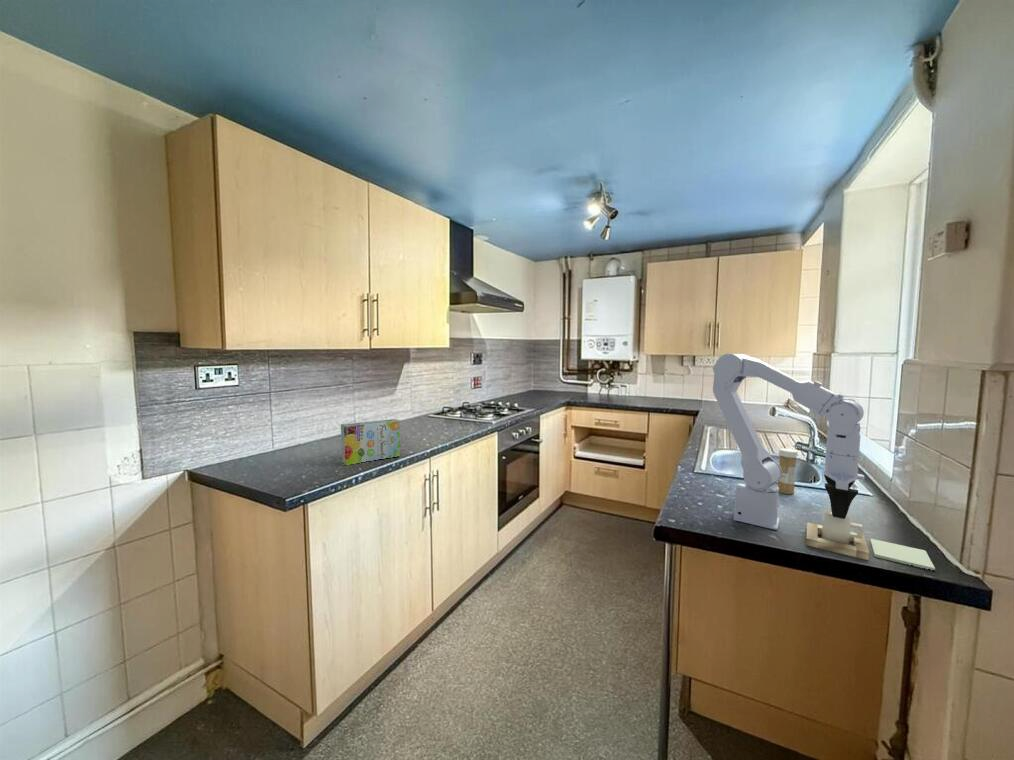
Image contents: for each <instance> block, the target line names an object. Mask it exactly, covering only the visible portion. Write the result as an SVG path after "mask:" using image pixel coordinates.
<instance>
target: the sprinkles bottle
mask: <svg viewBox="0 0 1014 760" xmlns="http://www.w3.org/2000/svg"><path fill="white" fill-rule="evenodd" d="M778 456H779V462H778V464H779V465H780V467H781V469H782V477H781V478H780V480H778V481H777V485H778V487H779V493H782V494H784V495H793V494H795V482H796V474H797V473H796V471H797V458H798V450H796V449H792V448H783V447H782V448H780V449H779V452H778Z"/></svg>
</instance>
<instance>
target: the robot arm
mask: <svg viewBox="0 0 1014 760" xmlns="http://www.w3.org/2000/svg"><path fill="white" fill-rule="evenodd" d="M712 371H713V383H712V391H713V392H712V393H713V395H714V398H715V399H716V401H717V403H718V405H719V407H720V410H721V412H722V414H723V417H724V418H725V421H726V423H727V425H728V428H729V430H730V431H731V434H732V436H733V439H734V440H735V442H736V444H737V447H738V450H739V451H740V453H741V455H740V456H741V457H740V458H741V459H740V464H741V467H742V468H743V469H742V470H743V472H742V477H743V479H744V483H737V484H736V488H735V494H734V506H733V521H736V522H741V523H744V524H750V525H754V526H756V527H761V528H765V529H771V530H775V531H778V530H779V529H778V528H779V524H780V518H779V517H778V510H779V509H778V507H779V496H780V495H779V493H780V492H779V487H778V480H780V478H781V477H782V469H781V467H780V465H779V462H778V461H775V459H774V458H773V457H772V455H771V453H770V452H769V451H768V450H767V449H765V448H764V446H763V444H762V442H761V439H760V438H759V436H758V434H757V431H756V429H755V427H754V426H753V423H752V421H751V419H750V417H749V415H748V413H747V410H746V409H745V406H744V404H743V403H742V402H743V401H742V400H741V398H740V396H739V395H738V392H737V391H738V389H739V387H740V385H741V384H742V383H743V380H745V379H746V378H752V377H753V378H760V379H762V380H764V381H767V382H768V383H770V384H771V385H772V384H773V385H774V386H775V387H778V388H781V390H785V391H786V392H788V393H790V394H791V396H792V399H793V401H794V402H796V403H798V404H799V405H801V406H803V407H805V408H807V409H809V410H810V411H811V412H812V411H813V412H815V413H816V414H818V415H820V416H825V419H826V420H827V423H828V431H826V432H827V433H826V445H825V447H826V449H825V460H824V461H825V463H824V469H823V472H822V473H823V477H824V480H825V481H826V483H824V488H825V490H826V493H827V495H828V499H829V503H830V509H831V511H832V515H833V517H837V518H842V519H845V518H846V515H847V513H848V512H849V509H850V506H851V504H852V502H853V500H854V499H855V497H857V495H858V494H859V490H858V489H855V488H852V486H853V485H854V483H855V482H856V481H857V480H863V481H864V480H865V478H866V477H865V474H861V473H858V472H859V463H860V462H859V461H860V460H859V458H860V448H861V447H860V446H861V429H862V428H861V423H860V422H861V421H862V419H863V418H864V414H865V412H864V408H863V406H862V405H861V404H860V403H858V402H857V401H856V400H855V399H853V398H844V397H845V395H844V394H842V393H835V392H833V391H832V390H829V389H827V388H825V387H823V383H822V382H820V381H817V380H816V381H814V382H813V381H812V380H805V381H799V380H798V379H796V378H794V377H792V376H790V374H789V375H788V374H787V373H785V372H783V371H781V370H780V369H778V368H776V367H774V366H772V365H771V364H768V363H767V362H765V361H763V360H761V359H758V358H756V357H752V356H750V355H749V354H746V353H742V352H741V353H725V354H723V355H721V356H719V358H717V360H716V362H715V364H714V365H713V367H712ZM848 514H849V513H848Z"/></svg>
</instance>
